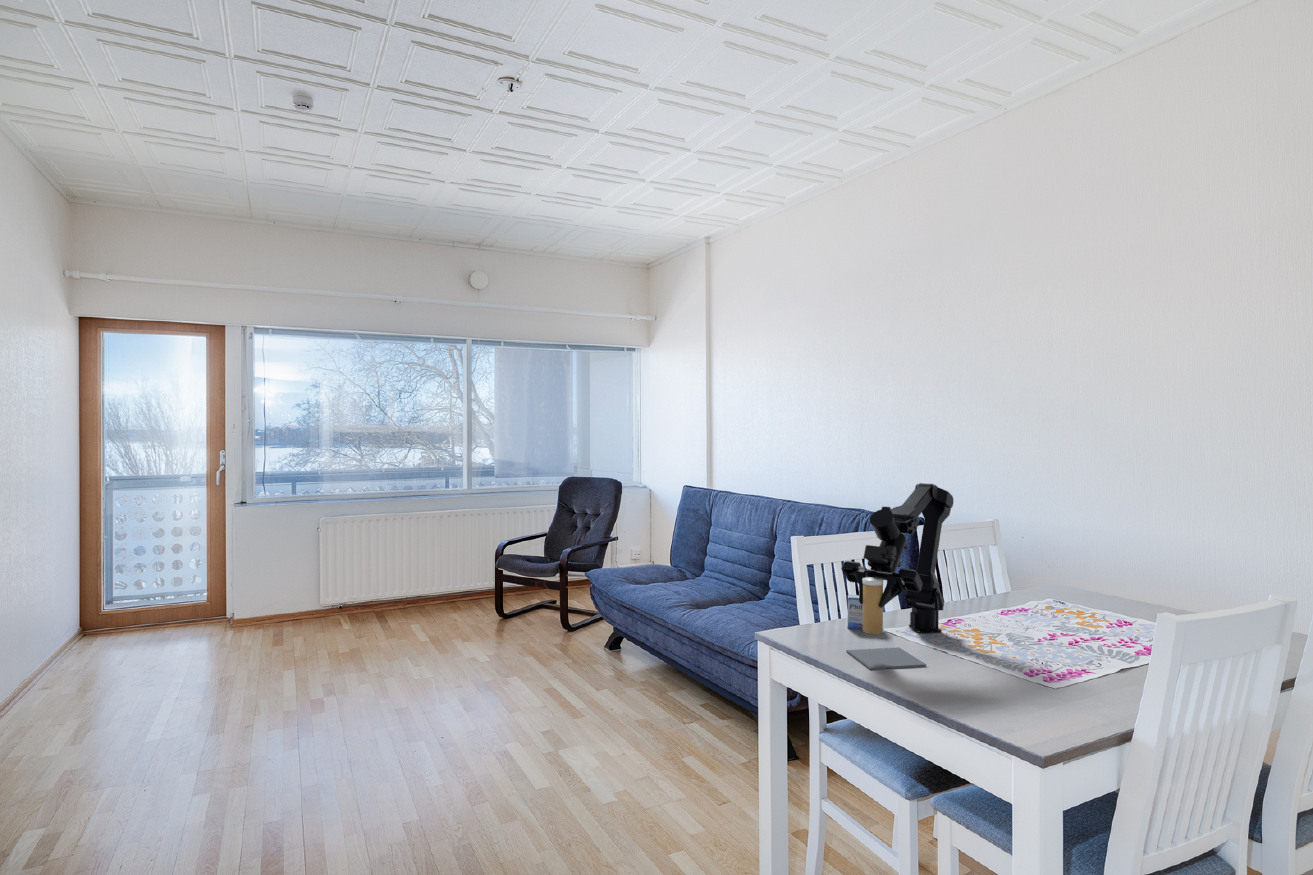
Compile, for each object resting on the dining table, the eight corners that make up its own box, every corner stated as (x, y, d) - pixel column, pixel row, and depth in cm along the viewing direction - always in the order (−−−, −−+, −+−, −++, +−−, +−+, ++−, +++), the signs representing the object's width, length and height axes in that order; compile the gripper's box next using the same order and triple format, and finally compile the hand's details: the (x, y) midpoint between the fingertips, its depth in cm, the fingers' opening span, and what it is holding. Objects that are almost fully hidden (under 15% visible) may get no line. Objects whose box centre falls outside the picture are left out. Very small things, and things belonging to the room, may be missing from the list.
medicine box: (847, 628, 200) (847, 597, 200) (847, 624, 205) (848, 593, 204) (877, 630, 198) (877, 599, 198) (877, 626, 202) (877, 595, 202)
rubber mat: (899, 649, 182) (899, 647, 182) (926, 666, 169) (926, 664, 169) (846, 652, 179) (846, 650, 179) (869, 669, 167) (869, 667, 167)
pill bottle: (872, 627, 177) (872, 576, 177) (887, 632, 173) (887, 580, 172) (858, 630, 175) (858, 578, 174) (872, 635, 170) (873, 582, 170)
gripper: (844, 528, 182) (823, 579, 174) (917, 536, 170) (898, 591, 162) (858, 555, 188) (838, 605, 180) (930, 564, 176) (912, 619, 168)
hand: (870, 605), depth 173 cm, fingers closed on pill bottle, 5 cm apart
